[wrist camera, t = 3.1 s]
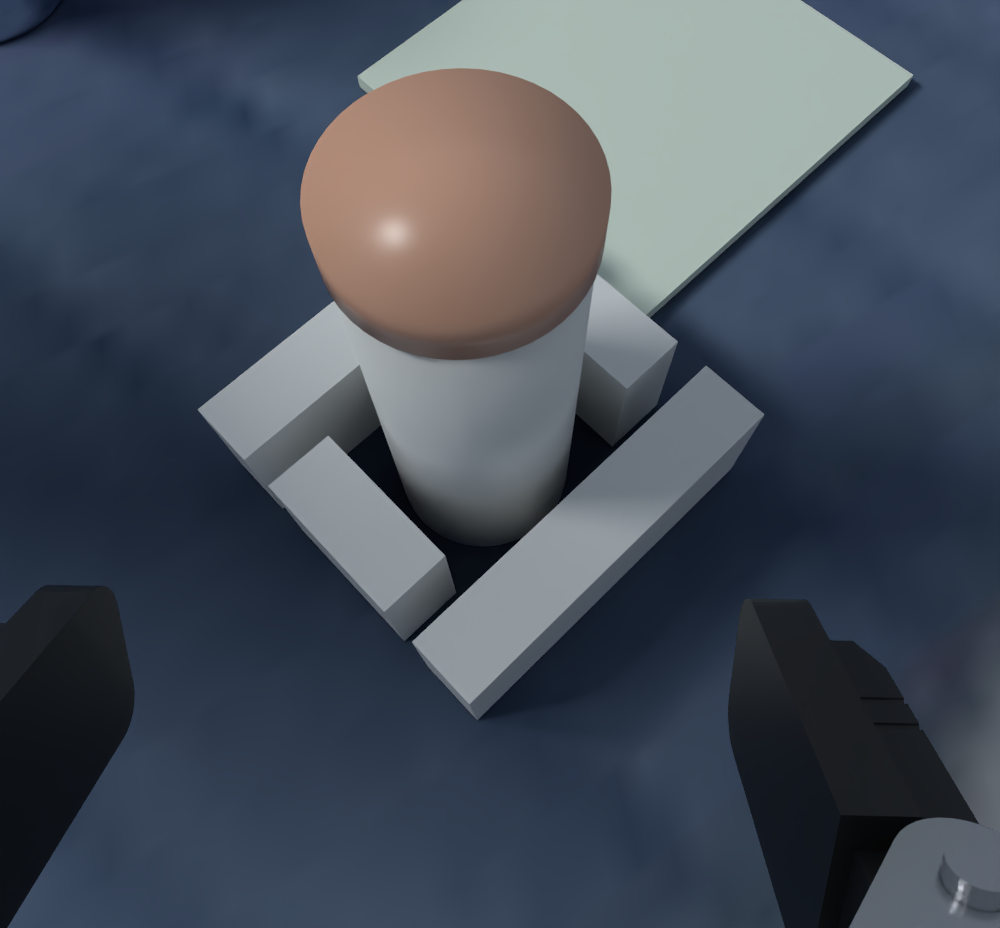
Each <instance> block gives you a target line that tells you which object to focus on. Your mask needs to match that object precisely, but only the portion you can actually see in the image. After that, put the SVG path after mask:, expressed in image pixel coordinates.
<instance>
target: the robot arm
mask: <svg viewBox="0 0 1000 928" xmlns="http://www.w3.org/2000/svg"><path fill="white" fill-rule="evenodd" d="M133 708H134V684H133V678H132V673H131V668H130V664H129V659H128V654H127V649H126V644H125V639H124V634H123V629H122V624H121V620H120V615H119V610H118V605H117V601H116V598H115V596H114V594H113V592H112V591H111V590H110V589H109V588H108V587H106V586H69V585H46V586H43V587H41V588H40V589H39V590H38V591H36V592H35V594H34V595H33V596H32V597H31V598H30V599H29V600H28V601H27V602H26V603H25V604H24V605H23V606H22V607H21V608H20V609H19V610H18V611H17V612H16V613H15V614H14V616H13V617H12V618H11V619H10V620H9V621H8V622H7V623H6V624H5V623H0V928H7V927H8V926H9V924H10V922H11V921H12V919H13V917H14V916H15V914H16V913H17V911H18V909H19V908H20V906H21V904H22V903H23V901H24V900H25V898H26V896H27V895H28V893H29V891H30V890H31V888H32V886H33V885H34V883H35V882H36V880H37V878H38V877H39V875H40V873H41V872H42V870H43V869H44V867H45V865H46V864H47V862H48V860H49V859H50V857H51V855H52V854H53V852H54V851H55V849H56V847H57V846H58V844H59V842H60V841H61V839H62V838H63V836H64V834H65V833H66V831H67V829H68V828H69V826H70V824H71V823H72V821H73V820H74V818H75V816H76V815H77V813H78V811H79V810H80V808H81V807H82V805H83V803H84V802H85V800H86V798H87V797H88V795H89V793H90V792H91V790H92V789H93V787H94V785H95V784H96V782H97V780H98V779H99V777H100V776H101V774H102V772H103V771H104V769H105V767H106V766H107V764H108V762H109V761H110V759H111V758H112V756H113V754H114V753H115V751H116V749H117V748H118V746H119V745H120V743H121V741H122V740H123V738H124V736H125V734H126V733H127V730H128V728H129V725H130V722H131V718H132V714H133ZM728 721H729V733H730V741H731V746H732V750H733V754H734V757H735V761H736V764H737V767H738V771H739V774H740V777H741V781H742V784H743V788H744V791H745V794H746V798H747V801H748V804H749V808H750V811H751V814H752V818H753V821H754V824H755V828H756V831H757V835H758V838H759V841H760V845H761V848H762V851H763V855H764V858H765V861H766V865H767V868H768V871H769V875H770V878H771V882H772V885H773V888H774V892H775V895H776V898H777V902H778V905H779V908H780V912H781V915H782V918H783V922H784V925H785V928H1000V833H999V832H997V831H995V830H993V829H990V828H988V827H985V826H982V825H980V824H979V823H978V822H977V820H976V818H975V817H974V815H973V813H972V811H971V810H970V808H969V806H968V805H967V803H966V801H965V800H964V798H963V796H962V795H961V793H960V791H959V790H958V788H957V786H956V785H955V783H954V781H953V780H952V778H951V776H950V775H949V773H948V771H947V770H946V768H945V766H944V765H943V763H942V761H941V760H940V758H939V756H938V755H937V753H936V751H935V750H934V748H933V746H932V745H931V743H930V741H929V739H928V738H927V736H926V734H925V733H924V731H923V730H919V723H918V721H917V719H916V718H915V716H914V714H913V713H912V711H911V709H910V708H909V706H908V704H904V698H903V696H902V694H901V693H900V691H899V689H898V688H897V686H896V684H895V683H894V681H893V679H892V678H891V676H890V674H889V672H888V671H887V669H886V667H884V666H883V665H882V664H881V663H879V662H878V661H877V660H876V659H874V658H873V657H872V656H871V655H869V654H868V653H867V652H866V651H864V650H863V649H862V648H861V647H859V646H858V645H857V644H856V643H854V642H853V641H830V640H829V638H828V636H827V634H826V632H825V630H824V628H823V627H822V625H821V623H820V621H819V619H818V617H817V615H816V613H815V611H814V609H813V608H812V606H811V604H810V603H809V602H808V601H807V600H787V599H746V600H745V601H744V602H743V604H742V607H741V611H740V617H739V624H738V632H737V640H736V647H735V655H734V663H733V671H732V678H731V686H730V694H729V705H728Z"/></svg>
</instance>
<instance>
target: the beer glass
mask: <svg viewBox="0 0 1000 928" xmlns="http://www.w3.org/2000/svg"><path fill="white" fill-rule="evenodd" d="M60 1H61V0H0V42H4V41H7V40H10V39H13V38H15V37H18V36H20V35H22V34H24V33H26V32H28V31H29V30H31V29H33V28H34V27H36V26H37V25H39V24H40V23H41V22H42V21H44V20H45V19H46V18H47V17H48V16H49V15H50V14H51V13H52V12H53V11H54V9H55V8H56V7H57V5H58V4H59V2H60Z"/></svg>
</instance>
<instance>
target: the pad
mask: <svg viewBox="0 0 1000 928" xmlns="http://www.w3.org/2000/svg"><path fill="white" fill-rule="evenodd" d="M453 68H470V69H483V70H490V71H496V72H501V73H505V74H509V75H513V76H516V77H519V78H522V79H524V80H527V81H530V82H532V83H535V84H537V85H539V86H540V87H542V88H544V89H546V90H548V91H550V92H552V93H553V94H555V95H556V96H557V97H559V98H560V99H562V100H563V101H565V102H566V103H567V104H568V105H569V106H571V107H572V108H573V109H574V110H575V111H576V112H577V113H578V114H579V115H580V116H581V117H582V118H583V119H584V121H585V122H586V123H587V124H588V125H589V126H590V128H591V130H592V131H593V133H594V134H595V136H596V137H597V139H598V140H599V143H600V145H601V147H602V149H603V152H604V154H605V156H606V160H607V163H608V167H609V171H610V178H611V187H612V192H611V208H610V214H609V221H608V227H607V234H606V241H605V247H604V252H603V257H602V262H601V265H600V268H599V271H598V273H597V274H598V275H599V276H600V277H601V278H603V279H604V280H605V281H606V282H607V283H609V284H610V285H611V286H612V287H613V288H615V289H616V290H617V291H618V292H619V293H620V294H622V295H623V296H624V297H625V298H626V299H628V300H629V301H630V302H631V303H632V304H634V305H635V306H636V307H637V308H638V309H640V310H641V311H642V312H643V313H644V314H645V315H647V316H648V317H649V318H650V317H651V316H653V315H654V314H655V313H656V312H657V311H658V310H659V309H660V308H661V307H663V306H664V305H665V304H666V303H667V302H668V301H669V300H670V299H671V298H673V297H674V296H675V295H676V294H677V293H678V292H679V291H680V290H681V289H683V288H684V287H685V286H686V285H687V284H688V283H689V282H690V281H691V280H693V279H694V278H695V277H696V276H697V275H698V274H699V273H700V272H701V271H703V270H704V269H705V268H706V267H707V266H708V265H709V264H710V263H711V262H713V261H714V260H715V259H716V258H717V257H718V256H719V255H720V254H721V253H723V252H724V251H725V250H726V249H727V248H728V247H729V246H730V245H731V244H733V243H734V242H735V241H736V240H737V239H738V238H739V237H740V236H741V235H743V234H744V233H745V232H746V231H747V230H748V229H749V228H750V227H751V226H753V225H754V224H755V223H756V222H757V221H758V220H759V219H760V218H761V217H763V216H764V215H765V214H766V213H767V212H768V211H769V210H770V209H771V208H773V207H774V206H775V205H776V204H777V203H778V202H779V201H780V200H781V199H783V198H784V197H785V196H786V195H787V194H788V193H789V192H790V191H791V190H793V189H794V188H795V187H796V186H797V185H798V184H799V183H800V182H801V181H803V180H804V179H805V178H806V177H807V176H808V175H809V174H810V173H811V172H813V171H814V170H815V169H816V168H817V167H818V166H819V165H820V164H821V163H823V162H824V161H825V160H826V159H827V158H828V157H829V156H830V155H831V154H833V153H834V152H835V151H836V150H837V149H838V148H839V147H840V146H841V145H843V144H844V143H845V142H846V141H847V140H848V139H849V138H850V137H851V136H853V135H854V134H855V133H856V132H857V131H858V130H859V129H860V128H861V127H863V126H864V125H865V124H866V123H867V122H868V121H869V120H870V119H871V118H873V117H874V116H875V115H876V114H877V113H878V112H879V111H880V110H881V109H883V108H884V107H885V106H886V105H887V104H888V103H889V102H890V101H891V100H893V99H894V98H895V97H896V96H897V95H898V94H899V93H900V92H901V91H903V90H904V89H905V88H906V87H907V86H908V84H909V82H910V81H911V79H912V77H913V75H912V74H911V73H909V72H908V71H906V70H905V69H903V68H902V67H900V66H899V65H897V64H896V63H894V62H893V61H891V60H890V59H888V58H887V57H885V56H884V55H882V54H881V53H879V52H878V51H876V50H875V49H873V48H872V47H870V46H869V45H867V44H866V43H864V42H863V41H861V40H860V39H858V38H857V37H855V36H854V35H852V34H851V33H849V32H848V31H846V30H845V29H843V28H842V27H840V26H839V25H837V24H836V23H834V22H833V21H831V20H830V19H828V18H827V17H825V16H824V15H822V14H821V13H819V12H818V11H816V10H815V9H813V8H812V7H810V6H809V5H807V4H806V3H804V2H803V1H801V0H462V1H461V2H459V3H458V4H457V5H455V6H454V7H452V8H451V9H450V10H448V11H447V12H445V13H444V14H443V15H441V16H440V17H439V18H437V19H436V20H434V21H433V22H432V23H430V24H429V25H427V26H426V27H425V28H423V29H422V30H421V31H419V32H418V33H416V34H415V35H414V36H412V37H411V38H409V39H408V40H407V41H405V42H404V43H403V44H401V45H400V46H398V47H397V48H396V49H394V50H393V51H392V52H390V53H389V54H387V55H386V56H385V57H383V58H382V59H380V60H379V61H378V62H376V63H375V64H374V65H372V66H371V67H369V68H368V69H367V70H365V71H364V72H362V73H361V74H360V75H358V81H359V85H360V87H361V88H362V89H363V90H364V91H366V92H367V93H369V92H371V91H373V90H375V89H377V88H379V87H381V86H383V85H385V84H387V83H389V82H392V81H395V80H397V79H400V78H403V77H406V76H409V75H413V74H417V73H421V72H426V71H433V70H439V69H453Z"/></svg>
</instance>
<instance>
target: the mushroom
mask: <svg viewBox="0 0 1000 928" xmlns="http://www.w3.org/2000/svg"><path fill="white" fill-rule="evenodd" d="M611 192H612V187H611V178H610V171H609V167H608V163H607V160H606V156H605V154H604V152H603V149H602V147H601V145H600V143H599V140H598V139H597V137H596V136H595V134H594V133H593V131H592V130H591V128H590V126H589V125H588V124H587V123H586V122H585V121H584V119H583V118H582V117H581V116H580V115H579V114H578V113H577V112H576V111H575V110H574V109H573V108H572V107H571V106H569V105H568V104H567V103H566V102H565V101H563V100H562V99H560V98H559V97H557V96H556V95H555V94H553V93H552V92H550V91H548V90H546V89H544V88H542V87H540V86H539V85H537V84H535V83H532V82H530V81H527V80H524V79H522V78H519V77H516V76H513V75H509V74H505V73H501V72H496V71H490V70H483V69H470V68H453V69H439V70H433V71H426V72H421V73H417V74H413V75H409V76H406V77H403V78H400V79H397V80H395V81H392V82H389V83H387V84H385V85H383V86H381V87H379V88H377V89H375V90H373V91H371V92H369V93H367V94H366V95H364V96H363V97H361V98H360V99H358V100H357V101H355V102H354V103H353V104H351V105H350V106H349V107H348V108H347V109H345V110H344V111H343V112H342V113H341V114H340V115H339V116H338V117H337V118H336V119H335V120H334V121H333V122H332V123H331V124H330V125H329V126H328V128H327V129H326V130H325V132H324V133H323V134H322V136H321V137H320V139H319V140H318V142H317V144H316V145H315V147H314V149H313V151H312V153H311V155H310V157H309V160H308V163H307V165H306V168H305V171H304V175H303V180H302V185H301V200H300V206H301V214H302V222H303V225H304V229H305V232H306V236H307V239H308V242H309V244H310V247H311V250H312V252H313V255H314V258H315V260H316V263H317V266H318V268H319V271H320V274H321V276H322V279H323V281H324V283H325V285H326V288H327V290H328V292H329V294H330V295H331V297H332V298H333V300H334V301H335V303H336V304H337V306H338V307H339V309H340V312H341V315H342V318H343V321H344V323H345V326H346V329H347V332H348V334H349V337H350V340H351V343H352V346H353V348H354V351H355V354H356V357H357V359H358V362H359V365H360V368H361V370H362V373H363V376H364V379H365V382H366V384H367V387H368V390H369V393H370V395H371V398H372V401H373V404H374V406H375V409H376V412H377V415H378V418H379V420H380V423H381V426H382V429H383V431H384V434H385V437H386V440H387V443H388V445H389V448H390V451H391V454H392V456H393V459H394V462H395V465H396V467H397V470H398V473H399V476H400V479H401V481H402V484H403V487H404V490H405V492H406V495H407V498H408V500H409V502H410V504H411V506H412V508H413V509H414V511H415V512H416V514H417V515H418V516H419V517H420V519H421V520H422V521H423V522H424V523H425V524H426V525H427V526H428V527H430V528H431V529H432V530H433V531H435V532H436V533H438V534H439V535H441V536H443V537H445V538H447V539H449V540H452V541H454V542H457V543H460V544H465V545H470V546H481V547H484V546H496V545H502V544H506V543H509V542H513V541H515V540H518V539H520V538H522V537H524V536H525V535H526V534H527V533H528V532H529V531H530V530H532V529H533V528H534V527H535V526H536V525H537V524H538V523H539V522H540V521H541V520H542V519H543V518H544V517H545V516H546V515H548V514H549V513H550V512H551V511H552V510H553V509H554V508H555V507H556V506H557V504H558V502H559V500H560V498H561V496H562V493H563V490H564V486H565V481H566V476H567V469H568V462H569V455H570V448H571V440H572V433H573V426H574V419H575V412H576V405H577V398H578V391H579V384H580V377H581V370H582V363H583V356H584V348H585V341H586V334H587V327H588V320H589V313H590V306H591V299H592V292H593V285H594V281H595V279H596V276H597V273H598V271H599V268H600V265H601V262H602V257H603V252H604V247H605V241H606V234H607V227H608V221H609V214H610V208H611Z"/></svg>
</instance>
